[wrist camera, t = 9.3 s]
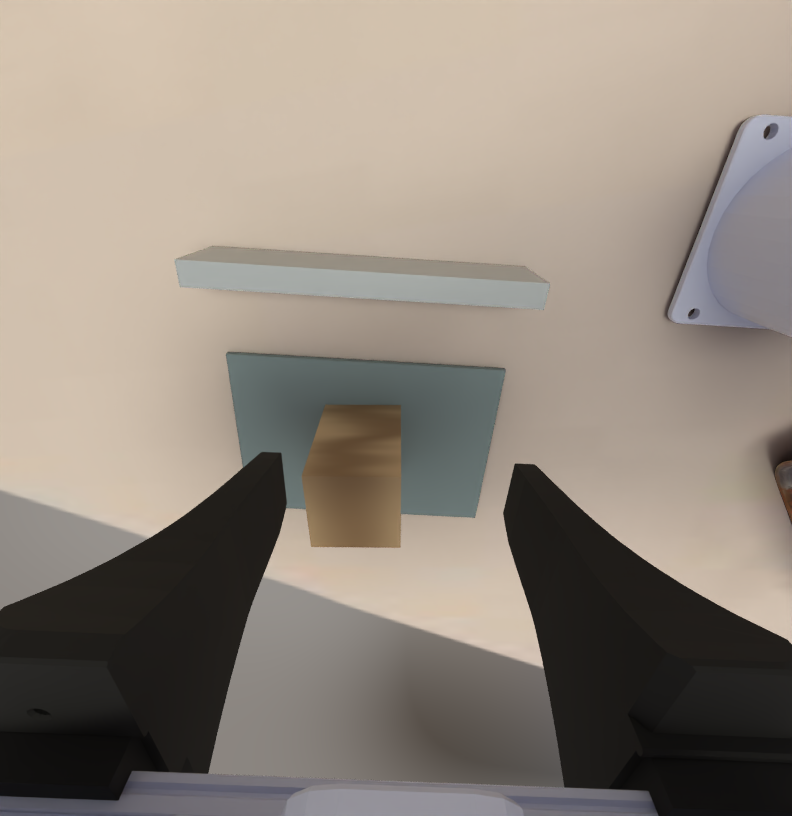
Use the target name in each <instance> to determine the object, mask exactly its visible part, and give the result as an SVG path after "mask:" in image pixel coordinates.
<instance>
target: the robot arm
mask: <svg viewBox="0 0 792 816" xmlns="http://www.w3.org/2000/svg"><path fill="white" fill-rule="evenodd" d="M768 125H769V126H770V133H769V135H768V136H767V137H766V138H765V139H764V136H763V133H764V130H765V129H766V127H767V126H768ZM692 309H695V310H694V313H693V314H692V315H691V316H689V317H688V313H689V312H690V311H691V310H692ZM667 315H668V318H669V319H670V320H671V321H673V322H675V323H678V324H694V325H710V326H726V327H742V328H758V329H772V330H774V331H777V332H779V333H782V334H784V335H786V336H789V337H791V338H792V117H790V116H777V115H757V116H752V117H750V118H748V119H747V120H746V121H745V122H744V123H743V124H742V125H741V127H740V128H739V130H738V133H737V135H736V138H735V140H734V143H733V145H732V148H731V151H730V153H729V156H728V158H727V161H726V163H725V166H724V169H723V171H722V174H721V176H720V179H719V181H718V184H717V186H716V189H715V192H714V194H713V197H712V199H711V202H710V204H709V207H708V210H707V212H706V215H705V217H704V220H703V222H702V225H701V228H700V230H699V233H698V235H697V238H696V240H695V243H694V246H693V248H692V251H691V253H690V256H689V258H688V261H687V264H686V266H685V269H684V271H683V274H682V276H681V279H680V282H679V284H678V287H677V289H676V292H675V294H674V297H673V300H672V302H671V305H670V307H669V310H668V314H667ZM286 506H287V499H286V490H285V481H284V472H283V463H282V453H278V452H261V453H260V454H258V455H257V456H256V457H255V458H254V459H253V460H251V461H250V462H249V463H248V464H247V465H246V466H245V467H243V468H242V469H241V470H240V471H239V472H238V473H237V474H236V475H234V476H233V477H232V478H231V479H230V480H229V481H227V482H226V483H225V484H224V485H223V486H221V487H220V488H219V489H218V490H217V491H216V492H214V493H213V494H212V495H211V496H209V497H208V498H207V499H205V500H204V501H203V502H201V503H200V504H199V505H198V506H196V507H195V508H194V509H192V510H191V511H190V512H188V513H187V514H186V515H184V516H183V517H181V518H180V519H178V520H177V521H176V522H174V523H173V524H171V525H169V526H168V527H166V528H165V529H163V530H162V531H160V532H159V533H157V534H155V535H154V536H152V537H151V538H149V539H147V540H145V541H144V542H142V543H140V544H138V545H136V546H135V547H133V548H131V549H129V550H128V551H126V552H124V553H122V554H121V555H119V556H117V557H115V558H113V559H111V560H109V561H107V562H106V563H103V564H101V565H99V566H97V567H95V568H94V569H92V570H89V571H87V572H85V573H83V574H81V575H79V576H77V577H74V578H72V579H70V580H68V581H66V582H63V583H61V584H59V585H57V586H54V587H52V588H49V589H47V590H44V591H42V592H40V593H37V594H35V595H32V596H30V597H27V598H25V599H23V600H20V601H18V602H15V603H13V604H10V605H8V606H5V607H3V608H2V609H1V611H0V816H792V644H791V643H790V642H789V641H788V640H787V639H785V638H783V637H781V636H779V635H777V634H775V633H772V632H770V631H768V630H766V629H764V628H762V627H760V626H758V625H756V624H754V623H752V622H750V621H748V620H746V619H744V618H742V617H740V616H738V615H736V614H734V613H732V612H730V611H728V610H726V609H725V608H723V607H721V606H719V605H717V604H715V603H714V602H712V601H710V600H708V599H706V598H705V597H703V596H701V595H699V594H698V593H696V592H694V591H693V590H691V589H689V588H687V587H686V586H684V585H682V584H681V583H679V582H678V581H676V580H674V579H673V578H671V577H670V576H668V575H667V574H665V573H663V572H662V571H660V570H659V569H657V568H656V567H654V566H653V565H651V564H650V563H648V562H647V561H645V560H644V559H643V558H641V557H640V556H638V555H637V554H636V553H634V552H633V551H632V550H630V549H629V548H628V547H626V546H625V545H623V544H622V543H621V542H619V541H618V540H617V539H616V538H614V537H613V536H612V535H611V534H609V533H608V532H607V531H606V530H605V529H603V528H602V527H601V526H600V525H599V524H597V523H596V522H595V521H594V520H593V519H592V518H591V517H589V516H588V515H587V514H586V513H585V512H584V511H583V510H582V509H581V508H579V507H578V506H577V505H576V504H575V503H574V502H573V501H572V500H571V499H570V498H569V497H568V496H567V495H566V494H565V493H564V492H563V491H562V490H561V489H559V488H558V487H557V486H556V485H555V484H554V483H553V482H552V481H551V480H550V479H549V478H548V477H547V476H546V475H545V474H544V473H543V472H542V471H541V470H540V469H539V468H538V467H537V466H536V465H534V464H515V466H514V470H513V474H512V478H511V483H510V487H509V491H508V495H507V500H506V504H505V508H504V512H503V514H504V520H505V526H506V532H507V537H508V542H509V546H510V549H511V552H512V555H513V558H514V562H515V565H516V568H517V571H518V574H519V577H520V580H521V583H522V586H523V589H524V592H525V595H526V598H527V602H528V605H529V608H530V611H531V614H532V618H533V621H534V625H535V629H536V634H537V638H538V643H539V647H540V652H541V656H542V661H543V666H544V670H545V676H546V681H547V686H548V691H549V696H550V701H551V708H552V713H553V718H554V725H555V730H556V736H557V741H558V748H559V755H560V761H561V768H562V774H563V780H564V787H565V788H560V787H535V786H508V785H483V784H481V785H480V784H457V783H456V784H455V783H432V782H405V781H404V782H403V781H380V780H355V779H327V778H303V777H277V776H250V775H225V774H223V775H222V774H208V772H209V767H210V763H211V758H212V753H213V749H214V745H215V741H216V736H217V732H218V728H219V723H220V719H221V715H222V711H223V707H224V703H225V699H226V695H227V691H228V687H229V683H230V679H231V675H232V672H233V668H234V664H235V660H236V656H237V653H238V649H239V645H240V642H241V639H242V635H243V631H244V628H245V624H246V621H247V617H248V614H249V611H250V608H251V605H252V602H253V600H254V597H255V595H256V592H257V589H258V587H259V584H260V582H261V579H262V577H263V574H264V572H265V569H266V567H267V564H268V562H269V559H270V557H271V554H272V552H273V549H274V546H275V544H276V541H277V539H278V536H279V533H280V530H281V526H282V522H283V518H284V514H285V510H286Z"/></svg>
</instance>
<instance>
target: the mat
mask: <svg viewBox="0 0 792 816" xmlns="http://www.w3.org/2000/svg"><path fill="white" fill-rule="evenodd" d="M226 358H227V364H228V371H229V378H230V384H231V391H232V397H233V404H234V411H235V417H236V424H237V430H238V437H239V444H240V450H241V457H242V463H243V467H245V466H246V465H247V464H248V463H249V462H250V461H251V460H253V459H254V458H255V457H256V456H257V455H258V454H260V453H261V452H278V453H282V463H283V472H284V481H285V490H286V499H287V506H286V508H296V509H306V505H305V498H304V491H303V484H302V473H303V470H304V467H305V464H306V461H307V458H308V455H309V452H310V449H311V446H312V443H313V440H314V437H315V434H316V431H317V428H318V425H319V422H320V419H321V416H322V413H323V410H324V407H325V405H401V514H413V515H433V516H452V517H472V518H475V515H476V510H477V506H478V501H479V496H480V491H481V486H482V482H483V477H484V472H485V467H486V463H487V458H488V453H489V448H490V443H491V439H492V434H493V429H494V424H495V419H496V415H497V410H498V405H499V400H500V395H501V391H502V386H503V381H504V376H505V371H506V370H505V369H504V368H491V367H474V366H457V365H441V364H424V363H407V362H390V361H373V360H356V359H340V358H323V357H306V356H289V355H272V354H255V353H239V352H228V353H227V354H226Z"/></svg>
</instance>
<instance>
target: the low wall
mask: <svg viewBox="0 0 792 816" xmlns="http://www.w3.org/2000/svg"><path fill="white" fill-rule="evenodd" d="M174 260H175V265H176V270H177V275H178V280H179V285H180V287H187V288H203V289H219V290H235V291H251V292H267V293H283V294H299V295H315V296H331V297H347V298H363V299H379V300H395V301H410V302H426V303H442V304H458V305H474V306H490V307H506V308H522V309H538V310H544V308H545V303H546V299H547V295H548V291H549V287H550V283H549V282H547V281H546V280H544V279H543V278H541V277H540V276H538V275H537V274H536V273H534V272H533V271H531V270H530V269H528V268H527V267H525V266H511V265H495V264H480V263H464V262H449V261H434V260H418V259H403V258H388V257H372V256H357V255H342V254H326V253H311V252H295V251H280V250H265V249H249V248H234V247H219V246H211V247H208V248H206V249H203V250H200V251H197V252H194V253H191V254H189V255H186V256H183V257H180V258H177V259H174Z"/></svg>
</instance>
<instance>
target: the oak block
mask: <svg viewBox="0 0 792 816" xmlns="http://www.w3.org/2000/svg"><path fill="white" fill-rule="evenodd" d="M302 484H303V491H304V498H305V505H306V512H307V520H308V527H309V534H310V541H311V547H391V548H400V534H401V405H325V407H324V410H323V413H322V416H321V419H320V422H319V425H318V428H317V431H316V434H315V437H314V440H313V443H312V446H311V449H310V452H309V455H308V458H307V461H306V464H305V467H304V470H303V473H302Z"/></svg>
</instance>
